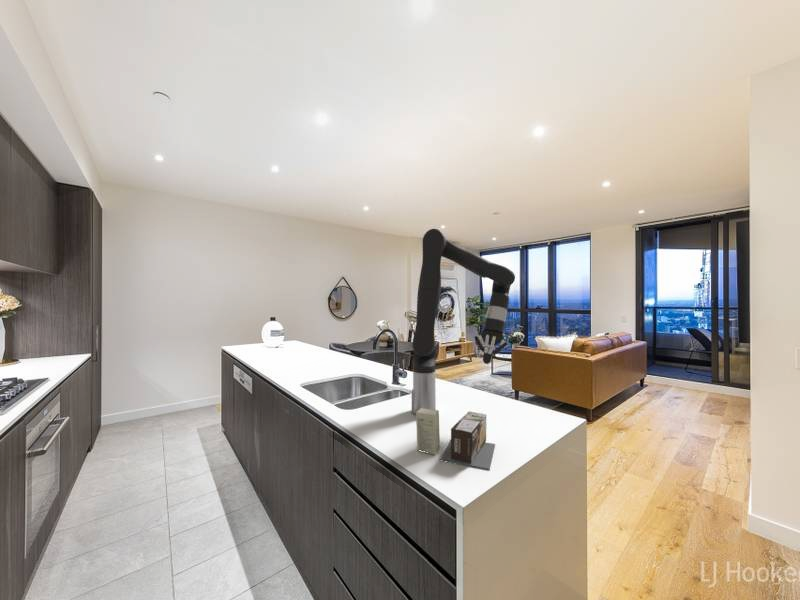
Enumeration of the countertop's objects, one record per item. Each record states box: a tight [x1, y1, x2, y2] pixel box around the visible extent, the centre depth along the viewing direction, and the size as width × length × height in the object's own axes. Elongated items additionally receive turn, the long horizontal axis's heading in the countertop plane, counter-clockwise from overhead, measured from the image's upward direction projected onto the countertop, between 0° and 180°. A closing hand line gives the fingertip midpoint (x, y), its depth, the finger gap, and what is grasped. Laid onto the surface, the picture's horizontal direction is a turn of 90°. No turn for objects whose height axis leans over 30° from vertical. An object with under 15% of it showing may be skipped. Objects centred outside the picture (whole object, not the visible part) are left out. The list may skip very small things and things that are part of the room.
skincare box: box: [415, 408, 441, 455], centre depth 99 cm, size 6×4×12 cm
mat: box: [439, 439, 496, 471], centre depth 97 cm, size 14×16×1 cm
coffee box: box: [450, 411, 487, 463], centre depth 98 cm, size 9×6×16 cm
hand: (486, 363), depth 120 cm, fingers closed
